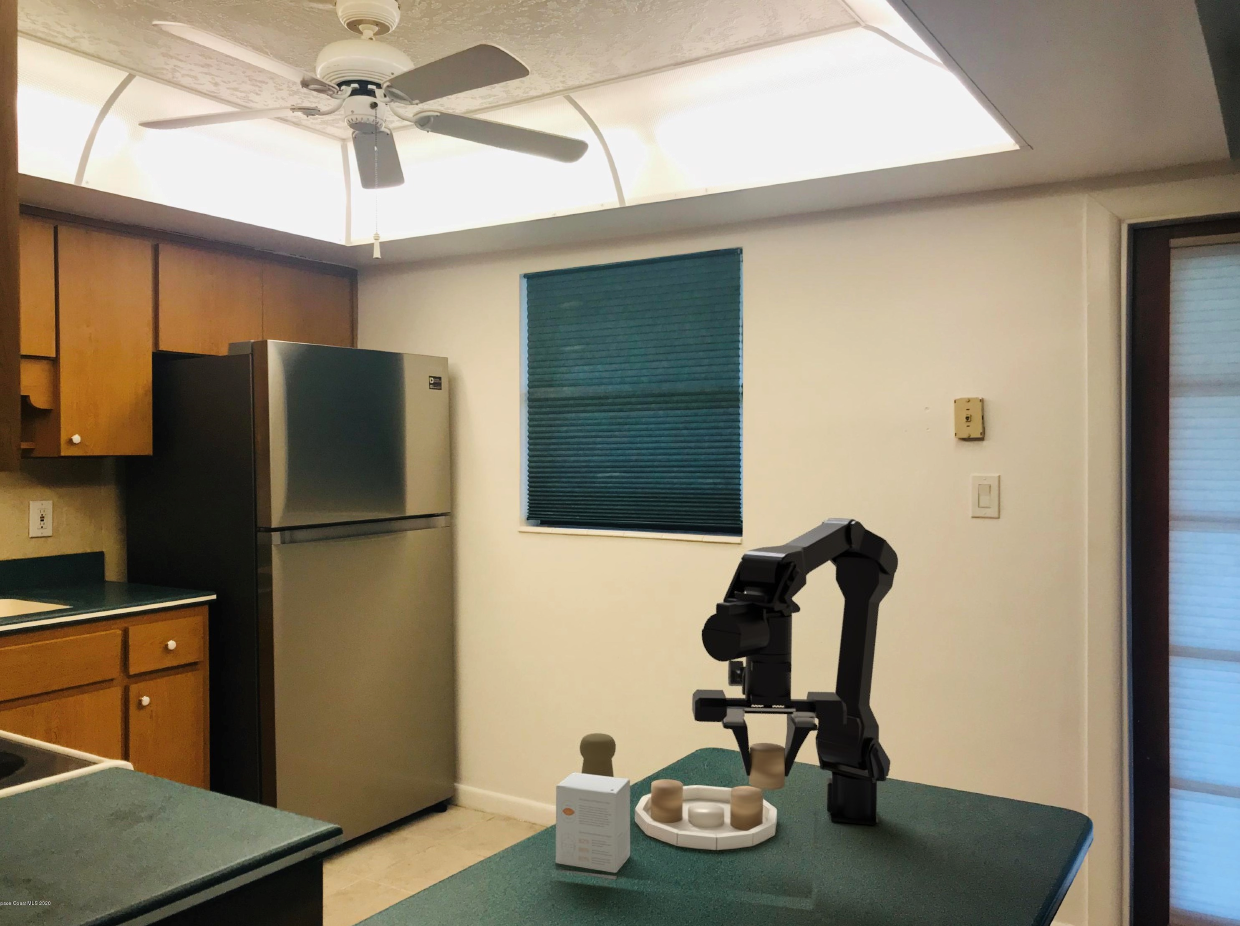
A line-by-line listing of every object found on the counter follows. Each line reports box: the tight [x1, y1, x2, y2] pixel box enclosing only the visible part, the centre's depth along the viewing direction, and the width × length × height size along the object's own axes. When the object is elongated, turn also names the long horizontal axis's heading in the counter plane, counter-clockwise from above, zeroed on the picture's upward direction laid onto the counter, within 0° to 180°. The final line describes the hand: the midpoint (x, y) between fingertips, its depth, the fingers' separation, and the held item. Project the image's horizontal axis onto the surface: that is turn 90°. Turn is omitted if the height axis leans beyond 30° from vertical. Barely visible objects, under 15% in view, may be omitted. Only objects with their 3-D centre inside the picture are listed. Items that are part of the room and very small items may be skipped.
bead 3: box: [748, 742, 786, 791], centre depth 115 cm, size 4×4×4 cm
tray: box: [634, 784, 778, 851], centre depth 126 cm, size 19×19×3 cm
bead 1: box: [650, 778, 684, 823], centre depth 127 cm, size 4×4×4 cm
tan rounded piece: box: [730, 785, 764, 831], centre depth 125 cm, size 4×4×4 cm
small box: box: [555, 772, 631, 881], centre depth 113 cm, size 8×6×10 cm
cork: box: [579, 732, 617, 777], centre depth 132 cm, size 6×6×11 cm
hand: (766, 775), depth 115 cm, fingers closed on bead 3, 4 cm apart
